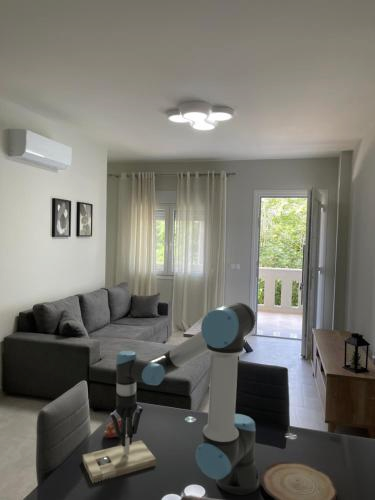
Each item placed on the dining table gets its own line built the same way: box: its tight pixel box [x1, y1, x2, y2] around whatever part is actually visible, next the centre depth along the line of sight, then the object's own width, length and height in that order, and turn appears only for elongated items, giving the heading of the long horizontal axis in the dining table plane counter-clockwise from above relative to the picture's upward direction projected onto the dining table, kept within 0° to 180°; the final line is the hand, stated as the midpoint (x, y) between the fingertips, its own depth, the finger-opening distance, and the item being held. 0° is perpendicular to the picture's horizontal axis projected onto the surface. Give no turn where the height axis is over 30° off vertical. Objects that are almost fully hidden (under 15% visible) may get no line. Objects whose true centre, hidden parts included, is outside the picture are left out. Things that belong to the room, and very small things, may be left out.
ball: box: [99, 457, 109, 466], centre depth 147 cm, size 4×4×4 cm
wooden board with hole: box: [82, 439, 157, 484], centre depth 150 cm, size 15×24×2 cm, turn 118°
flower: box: [103, 418, 121, 439], centre depth 169 cm, size 10×9×8 cm
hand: (126, 453), depth 151 cm, fingers closed
